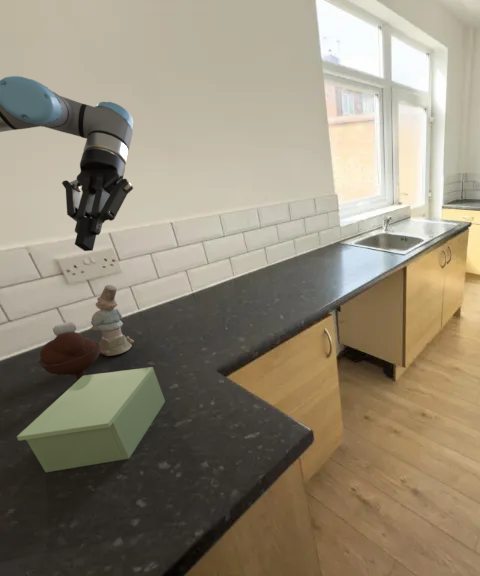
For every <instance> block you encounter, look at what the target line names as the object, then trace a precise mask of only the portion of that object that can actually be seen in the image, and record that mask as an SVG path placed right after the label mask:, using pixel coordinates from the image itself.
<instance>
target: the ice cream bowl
mask: <svg viewBox="0 0 480 576" xmlns="http://www.w3.org/2000/svg"><path fill="white" fill-rule="evenodd" d="M100 354H101V353H100V344H99V343H98V342H97V341H96V340H93V338H89V337H84V336H83V335H82V334H81V333H79V332H76V331H75V332H65V333H61V334H59V335H57V336H56V335H55V337H54V339H52V340H50V341H48V342H46V344H44V346H42V348H41V349H40V352H39V358H40V359H38V361H37V362H38V364H39V365H41V367H42V368H43V369H44V370H45V371H46V372H48V373H49V374H52V375H57V376H69V375H74V376H75V378H76V380H75V381H74V382H72V384H71V385H70V386H69V388H70V387H71V386H72V385H73V384H75V383H76V382H77V381H78V380H79V379H80V378H81V377H82V376H84V375H86V373H85V371H86V370H87V369H89V368H90V367H91V366H92V365H93V364H94V363H95V361H96V360H97V359H98V357H99V356H100Z"/></svg>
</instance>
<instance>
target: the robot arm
mask: <svg viewBox="0 0 480 576" xmlns="http://www.w3.org/2000/svg"><path fill="white" fill-rule="evenodd" d="M134 124H135V123H134V118H133V116H132V115H131V113H130V112H129V111H128V109H126V108H124V107H123V106H122V105H120V104H118V103H115V102H112V101H100V102H98V103H97V104H96V105H95V106H93V105H90V104H85V103H82V102H79V101H76V100H73V99H71V98H68V97H65V96H62V95H59V94H58V93H56V92H55V91H52V90H51V89H50V88H49V87H48V86H46V85H44V84H43V83H40V82H38V81H37V80H34V79H31V78H28V77H23V76H19V75H18V76H17V75H12V76H11V75H10V76H5V77H4V78H2V79H0V133H2V132H10V131H17V130H25V129H31V128H32V129H33V128H38V127H42V128H43V127H44V128H47V129H50V130H55V131H58V132H61V133H64V134H68V135H72V136H76V137H80V138H82V139H86V141H85V144H84V147H83V150H82V151H83V152H82V154H81V159H80V162H79V169H80V173H79V174H78V175H76V179H75V180H72V181H68V180H63V181H62V182H61V184H62V186H63V187H64V189H65V201H66V202H65V203H66V215H67V216H68V217H70V218H71V219H73V221H75V222H76V223H75V227H74V232H75V233H76V238H75V242H74V245H75V246H76V247H78V248H80V249H81V250H82V251H83V252H90V251H92V252H93V251H94V246H95V242H96V238H97V236H99V235H100V234H101V231H102V228H103V224H104V223H105V222H106V221H110V222H113V221H114V220H115V219H116V217H117V215H118V213H119V211H120V209H121V207H122V205H123V203H124V201H125V199H126V197H127V196H128V194H129V193H131V191H132V190H134V186H133V185H132V183H130V181H129V180H128V179H127V178H124V175H125V170H126V165H127V160H128V155H129V152H130V146H131V142H132V138H133V133H134V132H133V131H134Z"/></svg>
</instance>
